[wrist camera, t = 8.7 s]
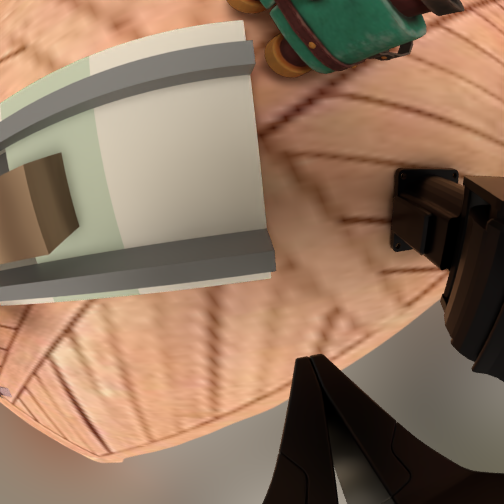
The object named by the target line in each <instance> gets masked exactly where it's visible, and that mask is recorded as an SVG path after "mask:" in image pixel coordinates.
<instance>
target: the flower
mask: <svg viewBox="0 0 504 504" xmlns="http://www.w3.org/2000/svg"><path fill="white" fill-rule="evenodd" d="M1 395H4V396H10V397H12V396H11V394H10V392H9V389H8V388H4V387H0V397H1V398H3V397H2V396H1ZM3 399H4V398H3Z"/></svg>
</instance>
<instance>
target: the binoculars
mask: <svg viewBox="0 0 504 504" xmlns="http://www.w3.org/2000/svg"><path fill="white" fill-rule="evenodd" d="M227 2H228V3H229V4H230V5H231V6H232V7H233V8H234V9H236V10H238V11H241V12H245V13H260V12H263V11H265V10H267V9H269V8H271V7H272V6H273V5H274V4H275V3H276V4H277V5H276V6H275V7H274V8H273V9H272V10H271V12H270V16H271V17H272V19H273V21H274V22H275V24H276V25H277V27H278V29H279V30H280V32H281V33H280V34H278V35H277V36H276V37H274V38H273V39H272V40H271V41H270V42H269V43H268V44H267V46H266V48H265V59H266V62H267V63H268V65H269V67H270V68H271V69H272V70H273V71H274V72H276V73H277V74H279V75H281V76H284V77H291V78H292V77H298V76H301V75H303V74H305V73H307V72H309V71H310V70H312V69H313V70H315V71H316V72H319V73H324V74H328V73H332V72H334V71H342V70H345V69H347V68H350V67H351V68H356V67H357V64H360V63H362V62H364V61H365V60H366V59H374V58H375V59H378V60H381V61H382V60H390V59H393V58H397V57H401V56H404V55H408V54H410V52H411V49H412V46H413V40H416V39H418V38H420V37H422V36H423V35H425V34H426V24H425V21H424V19H423V16H422V14H424V13H428V12H433V13H434V14H436V15H438V16H442V15H446V14H451V13H456V12H461V11H464V7H463V5H462V3H461V1H460V0H227ZM399 45H400V48H399V51H398V53H392V52H389V49H391V48H394V47H396V46H399Z"/></svg>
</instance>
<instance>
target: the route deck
mask: <svg viewBox="0 0 504 504" xmlns="http://www.w3.org/2000/svg"><path fill="white" fill-rule="evenodd" d="M254 66H255V56H254V48H253V40H248V41H246V38H245V30H244V23H243V20H238V21H228V22H219V23H211V24H204V25H198V26H192V27H187V28H181V29H176V30H172V31H167V32H163V33H159V34H155V35H151V36H147V37H143V38H140V39H136V40H133V41H130V42H126V43H123V44H120V45H117V46H114V47H111V48H109V49H106V50H103V51H100V52H98V53H95V54H93V55H90V56H88V57H85V58H83V59H80V60H78V61H76V62H74V63H71V64H69V65H67V66H65V67H63V68H61V69H59V70H57V71H55V72H53V73H51V74H49V75H47V76H45V77H43V78H41V79H39V80H37V81H36V82H34V83H32V84H30V85H29V86H27V87H25V88H23V89H22V90H20V91H19V92H17V93H15V94H14V95H12V96H11V97H9V98H7V99H6V100H4V101H3V102H1V103H0V176H1V175H3V174H5V173H7V172H9V171H11V170H13V169H15V168H17V167H19V166H21V165H24V164H26V163H29V162H32V161H35V160H38V159H41V158H44V157H47V156H51V155H54V154H57V153H62V158H63V163H64V168H65V173H66V177H67V182H68V186H69V190H70V194H71V198H72V202H73V206H74V209H75V213H76V216H77V220H78V223H79V226H80V227H79V228H77V229H76V230H75V231H74V232H73V233H72V234H71V235H70V236H68V237H67V238H66V239H65V240H64V241H63V242H62V243H61V244H60V245H59V246H58V247H56V248H55V249H54V250H53V251H52V252H51V253H50V254H49V255H44V256H39V257H34V258H29V259H24V260H19V261H14V262H10V263H5V264H0V304H1V306H6V305H22V304H37V303H51V302H64V301H76V300H88V299H99V298H110V297H120V296H130V295H140V294H149V293H158V292H167V291H176V290H185V289H193V288H201V287H210V286H217V285H225V284H233V283H241V282H248V281H255V280H263V279H270V278H271V272H273V271H276V263H275V250H274V248H273V245H272V242H271V239H270V236H269V233H268V231H267V226H266V216H265V205H264V195H263V185H262V176H261V166H260V157H259V147H258V138H257V129H256V120H255V111H254V103H253V94H252V86H251V78H250V74H251V72H252V70H253V68H254Z"/></svg>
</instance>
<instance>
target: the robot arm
mask: <svg viewBox="0 0 504 504" xmlns="http://www.w3.org/2000/svg"><path fill="white" fill-rule="evenodd" d="M402 173H403V174H404V175H403V177H402V178H401V174H402ZM453 173H454V175H453ZM458 177H459V174H458V171H457V170H455V169H452V168H399V169H398V170H397V171H396V174H395V197H394V199H393V214H392V226H391V230H392V236H391V248H392V249H393V250H394V251H395V252H399V251H405V250H411V249H414V250H416V251H417V252H418V253H419V254H420V255H424V256H425V257H427V258H428V259H429V260H430V261H431V262H432V263H433V264H435V265H436V266H437V267H438V268H439V269H440V270H445V269H446V270H447V271H448V272H449V277H448V280H447V284H446V288H445V291H444V294H442V297H441V300H440V302H441V305H442V307H443V310H444V312H445V314H444V319H445V326H446V328H447V330H448V332H449V334H450V336H451V338H452V339H451V344H452V345H453V347H454V348H455V349H456V350H457V351H458V352H459V353H460V354H462V355H463V356H465V357H466V358H467V359H469V360H471V361H474V362H475V363H474V365H473V367H472V371H473V372H476V373H484V374H488V375H491V376H494V377H497V378H499V379H500V380H502V381H503V382H504V177H490V176H464V181H463V185H464V186H465V187H464V186H462V185H460V184H458ZM397 243H398V245H397V246H396V244H397ZM395 246H396V247H395ZM334 467H335V470H336V473H337V476H338V479H339V482H340V484H341V487H342V490H343V493H344V496H345V499H346V502H347V504H504V473H489V472H479V471H473V470H469V469H466V468H463V467H461V466H459V465H458V464H456V463H454V462H452V461H451V460H449V459H448V458H446V457H444V456H443V455H441V454H439V453H438V452H436V451H435V450H433V449H432V448H430V447H429V446H427V445H425V444H424V443H423V442H421V441H420V440H419V439H417V438H416V437H415V436H413V435H412V434H411V433H410V432H409V431H407V430H406V429H405V428H404V427H403V426H402V425H400V424H399V423H398V422H397V423H396V420H395V419H393V418H392V417H391V416H390V415H389V414H388V413H387V412H385V410H383V409H382V408H381V407H380V406H379V405H378V404H377V403H376V402H374V401H373V400H372V399H371V398H370V397H369V396H368V395H367V394H366V393H364V392H363V391H362V390H361V389H360V388H359V387H358V386H357V385H356V384H355V383H354V382H352V381H351V380H350V379H349V378H348V377H347V376H346V375H345V374H344V373H343V372H341V370H339V369H338V368H337V367H336V366H335V365H334V364H333V363H332V362H331V361H330V360H329V359H328V358H327V357H325V356H324V355H323V354H317V355H312V356H310V357H307V356H306V357H301V358H297V359H296V360H295V366H294V373H293V379H292V385H291V391H290V397H289V402H288V408H287V413H286V419H285V424H284V429H283V434H282V439H281V444H280V449H279V454H278V458H277V462H276V467H275V470H274V473H273V477H272V481H271V484H270V486H269V489H268V491H267V494H266V496H265V499H264V501H263V503H262V504H338V495H337V487H336V480H335V472H334Z"/></svg>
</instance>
